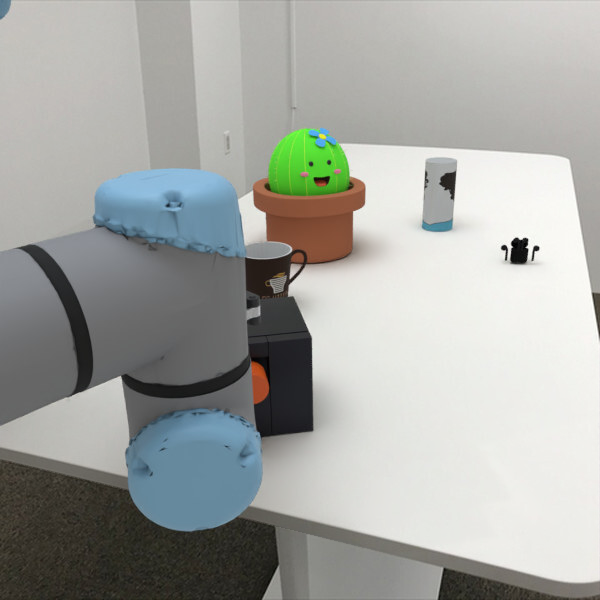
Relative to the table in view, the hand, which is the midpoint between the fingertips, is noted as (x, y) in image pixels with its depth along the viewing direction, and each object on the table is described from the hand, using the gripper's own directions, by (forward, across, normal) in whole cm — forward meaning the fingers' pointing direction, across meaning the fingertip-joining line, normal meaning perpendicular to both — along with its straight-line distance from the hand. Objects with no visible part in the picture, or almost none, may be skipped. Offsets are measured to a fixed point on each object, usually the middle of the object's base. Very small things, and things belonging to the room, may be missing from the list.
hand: (183, 256), depth 70 cm
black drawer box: (0, +6, -20) cm, 21 cm away
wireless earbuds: (+40, +62, -20) cm, 77 cm away
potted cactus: (+57, +25, -20) cm, 65 cm away
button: (-7, +6, -14) cm, 17 cm away
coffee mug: (+30, +14, -20) cm, 39 cm away
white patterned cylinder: (+65, +56, -20) cm, 88 cm away
